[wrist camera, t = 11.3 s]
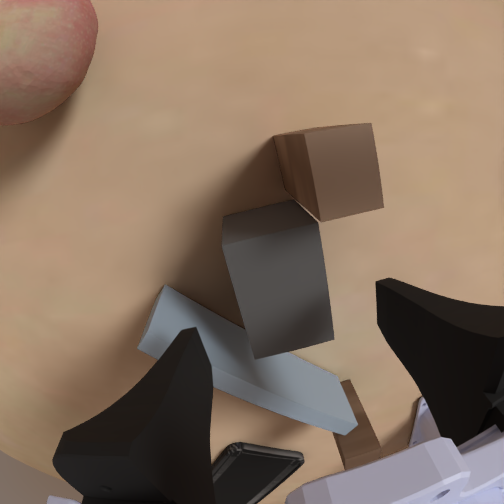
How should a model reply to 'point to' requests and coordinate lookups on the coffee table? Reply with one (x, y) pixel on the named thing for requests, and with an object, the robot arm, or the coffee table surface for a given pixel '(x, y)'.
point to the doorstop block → (278, 277)
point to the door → (250, 365)
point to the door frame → (332, 207)
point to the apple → (42, 54)
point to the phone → (251, 472)
